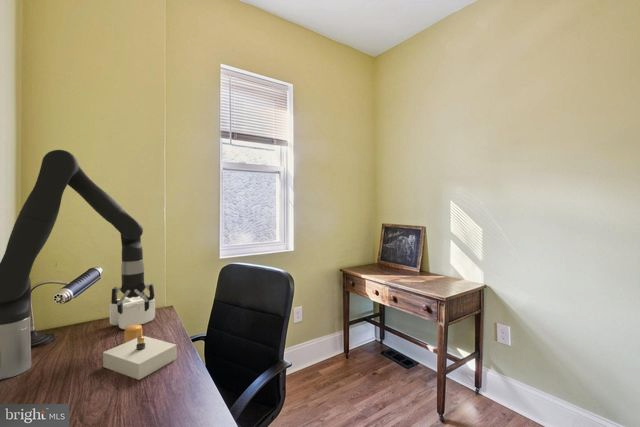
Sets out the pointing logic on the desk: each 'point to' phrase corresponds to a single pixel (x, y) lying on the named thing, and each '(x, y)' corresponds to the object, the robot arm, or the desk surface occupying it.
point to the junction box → (139, 357)
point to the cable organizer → (131, 312)
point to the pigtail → (140, 343)
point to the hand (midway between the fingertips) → (133, 311)
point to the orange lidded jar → (132, 332)
